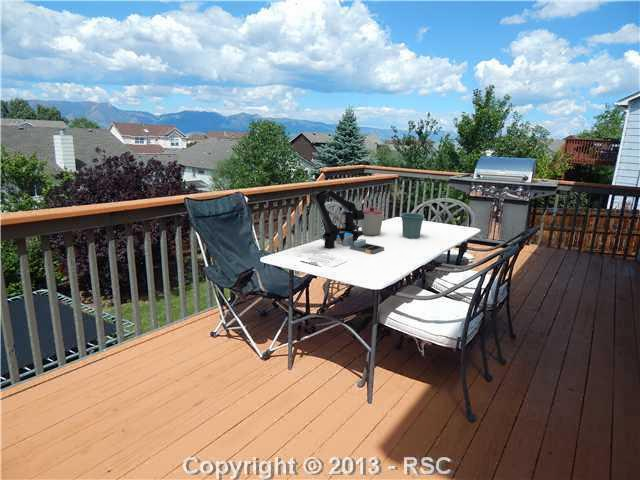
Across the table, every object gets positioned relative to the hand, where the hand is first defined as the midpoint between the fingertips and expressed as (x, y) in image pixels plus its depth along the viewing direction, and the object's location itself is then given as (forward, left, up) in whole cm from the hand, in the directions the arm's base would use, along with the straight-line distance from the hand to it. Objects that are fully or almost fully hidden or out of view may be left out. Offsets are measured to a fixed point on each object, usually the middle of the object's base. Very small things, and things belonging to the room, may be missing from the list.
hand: (348, 244), depth 271 cm
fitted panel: (-2, -10, 0) cm, 11 cm away
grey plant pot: (+38, +8, -1) cm, 39 cm away
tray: (-36, -7, -2) cm, 37 cm away
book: (+14, +19, -2) cm, 24 cm away
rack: (-2, -16, -1) cm, 16 cm away
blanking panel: (0, 0, -1) cm, 1 cm away
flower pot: (+52, -18, -1) cm, 55 cm away
